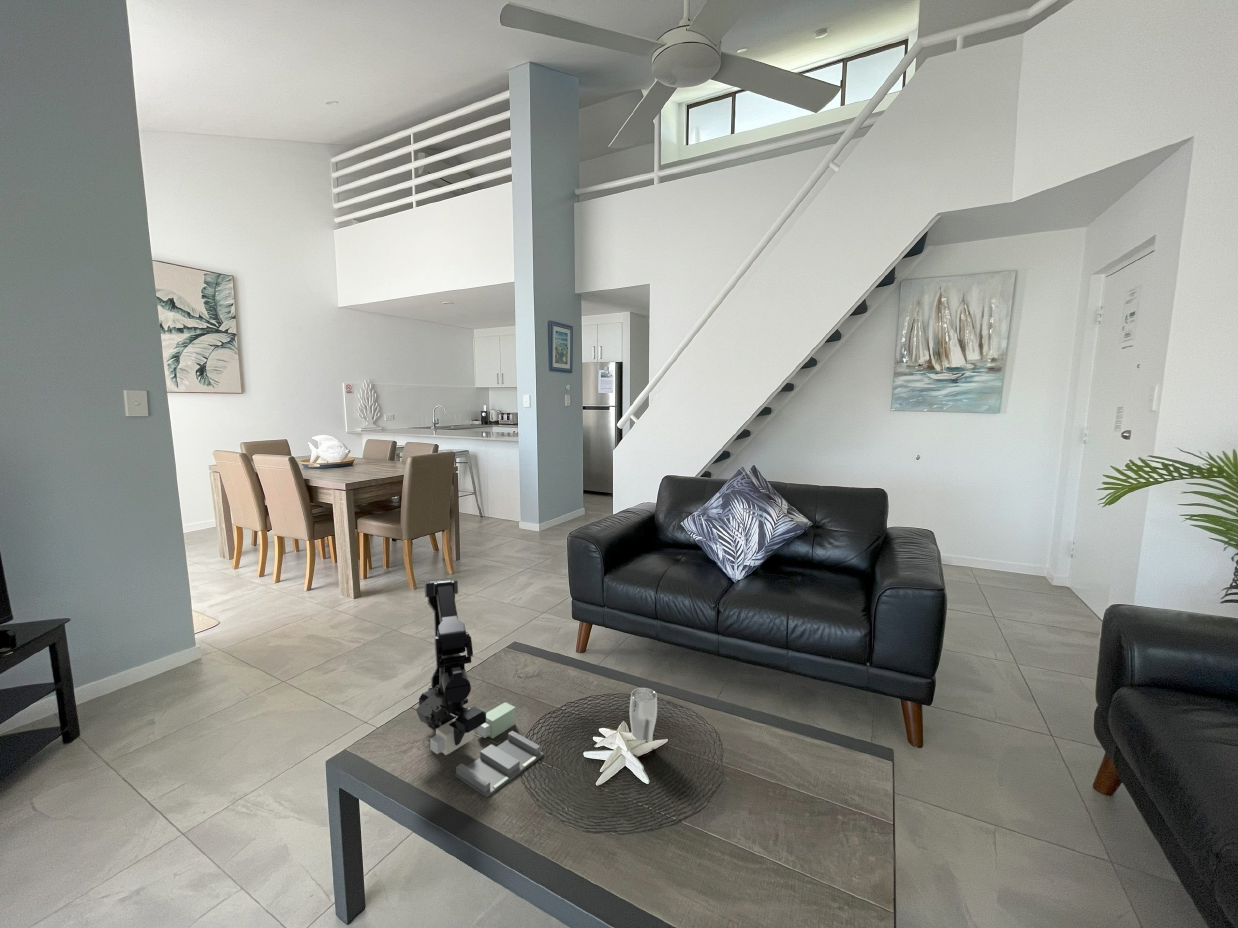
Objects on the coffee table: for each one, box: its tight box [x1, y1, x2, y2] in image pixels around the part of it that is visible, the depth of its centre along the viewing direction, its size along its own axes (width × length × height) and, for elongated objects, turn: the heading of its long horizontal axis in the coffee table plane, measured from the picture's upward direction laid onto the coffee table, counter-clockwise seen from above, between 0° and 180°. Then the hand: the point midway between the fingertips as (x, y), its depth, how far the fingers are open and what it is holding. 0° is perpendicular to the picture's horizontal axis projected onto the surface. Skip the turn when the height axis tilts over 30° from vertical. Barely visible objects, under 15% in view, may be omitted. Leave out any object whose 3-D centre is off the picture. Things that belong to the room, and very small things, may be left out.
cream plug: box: [429, 718, 474, 756], centre depth 127 cm, size 10×4×5 cm, turn 145°
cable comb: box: [454, 730, 545, 799], centre depth 126 cm, size 11×18×2 cm, turn 145°
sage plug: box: [477, 701, 516, 740], centre depth 139 cm, size 10×4×5 cm, turn 145°
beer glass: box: [629, 687, 658, 742], centre depth 133 cm, size 7×7×15 cm
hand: (451, 740), depth 127 cm, fingers closed on cream plug, 4 cm apart
